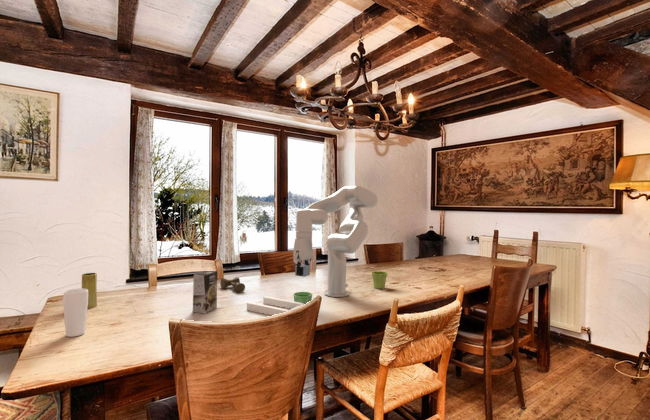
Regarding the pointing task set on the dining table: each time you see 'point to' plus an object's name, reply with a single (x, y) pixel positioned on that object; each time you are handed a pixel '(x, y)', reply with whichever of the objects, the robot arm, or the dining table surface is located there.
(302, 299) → the ramekin
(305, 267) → the block
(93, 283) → the vase
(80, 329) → the drinking glass
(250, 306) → the channel
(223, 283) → the kendama
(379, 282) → the plant pot
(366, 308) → the dining table surface
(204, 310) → the coffee box
